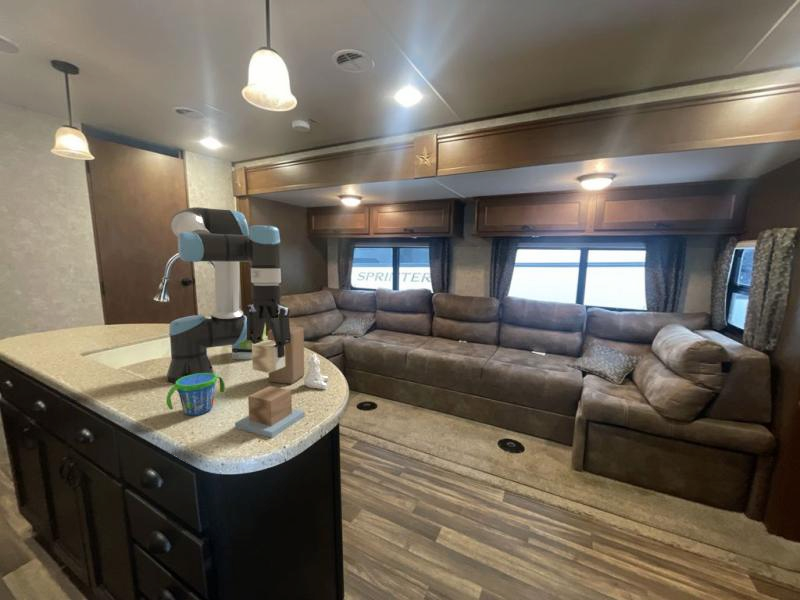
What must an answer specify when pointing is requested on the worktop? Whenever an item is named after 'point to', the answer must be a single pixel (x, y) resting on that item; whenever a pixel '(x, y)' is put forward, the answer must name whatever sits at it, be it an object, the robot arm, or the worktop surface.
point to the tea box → (245, 348)
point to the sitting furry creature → (315, 374)
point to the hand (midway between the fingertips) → (269, 366)
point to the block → (290, 358)
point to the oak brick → (264, 356)
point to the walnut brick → (270, 405)
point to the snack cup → (196, 392)
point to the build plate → (266, 429)
